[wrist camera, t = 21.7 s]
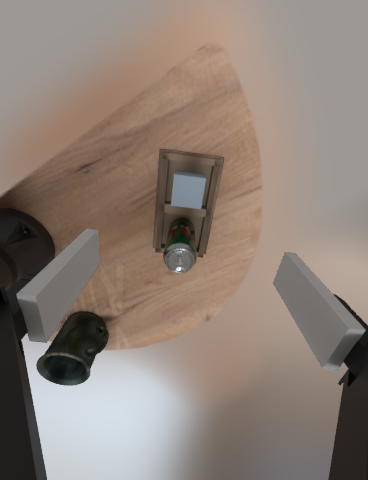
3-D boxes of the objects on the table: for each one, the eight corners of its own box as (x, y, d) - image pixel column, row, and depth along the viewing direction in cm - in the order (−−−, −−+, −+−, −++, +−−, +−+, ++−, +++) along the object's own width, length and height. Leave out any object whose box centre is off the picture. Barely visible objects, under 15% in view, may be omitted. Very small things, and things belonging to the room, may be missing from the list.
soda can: (170, 241, 43) (164, 276, 33) (167, 218, 41) (159, 247, 30) (195, 239, 43) (198, 274, 32) (193, 215, 41) (195, 244, 30)
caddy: (153, 245, 45) (151, 252, 42) (160, 148, 37) (158, 149, 34) (205, 251, 45) (206, 259, 43) (223, 157, 37) (226, 159, 34)
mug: (56, 317, 55) (24, 362, 44) (103, 299, 52) (81, 342, 41) (82, 344, 59) (58, 390, 48) (127, 328, 56) (112, 374, 45)
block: (175, 169, 37) (173, 174, 33) (203, 173, 37) (206, 178, 33) (172, 197, 39) (170, 205, 35) (199, 200, 40) (201, 209, 35)
